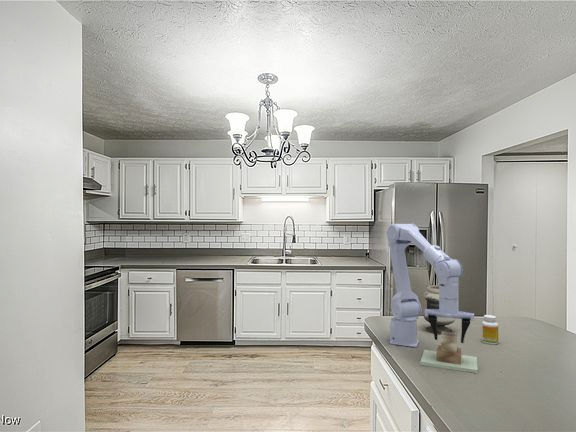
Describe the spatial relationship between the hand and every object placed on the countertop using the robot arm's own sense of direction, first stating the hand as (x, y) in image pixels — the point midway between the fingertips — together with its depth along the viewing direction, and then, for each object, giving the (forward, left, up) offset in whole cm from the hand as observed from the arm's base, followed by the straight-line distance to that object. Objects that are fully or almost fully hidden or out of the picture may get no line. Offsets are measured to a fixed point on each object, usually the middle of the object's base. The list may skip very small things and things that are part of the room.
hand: (449, 340), depth 122 cm
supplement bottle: (+13, +28, -7) cm, 32 cm away
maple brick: (0, 0, -3) cm, 3 cm away
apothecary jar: (-5, +36, -7) cm, 37 cm away
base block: (0, 0, -7) cm, 7 cm away
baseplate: (0, 0, -7) cm, 7 cm away
